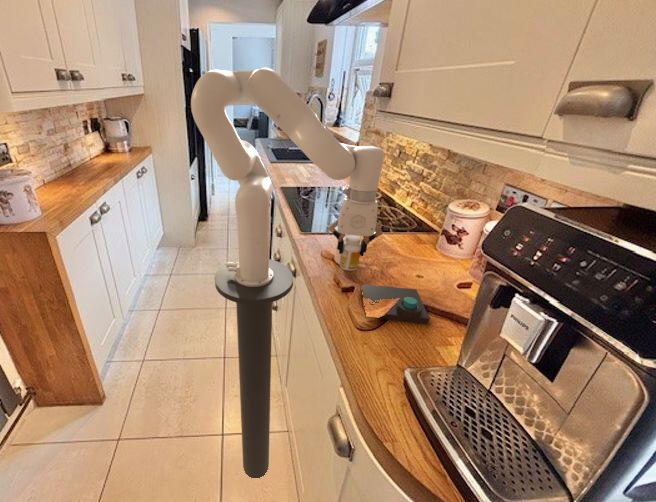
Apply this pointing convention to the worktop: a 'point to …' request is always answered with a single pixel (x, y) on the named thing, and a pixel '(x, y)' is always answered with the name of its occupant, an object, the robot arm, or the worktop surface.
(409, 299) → the button
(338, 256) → the white cup
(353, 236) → the supplement bottle
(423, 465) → the worktop surface
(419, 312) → the scale
